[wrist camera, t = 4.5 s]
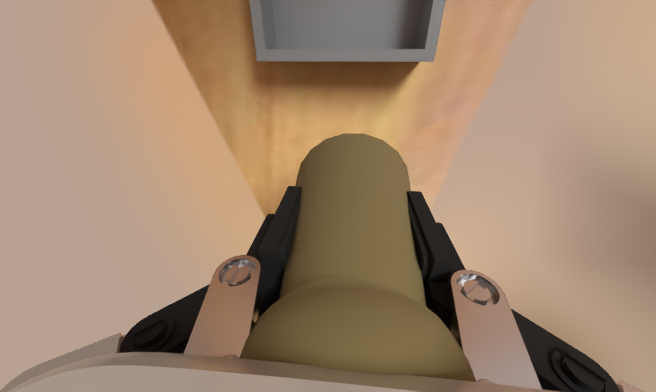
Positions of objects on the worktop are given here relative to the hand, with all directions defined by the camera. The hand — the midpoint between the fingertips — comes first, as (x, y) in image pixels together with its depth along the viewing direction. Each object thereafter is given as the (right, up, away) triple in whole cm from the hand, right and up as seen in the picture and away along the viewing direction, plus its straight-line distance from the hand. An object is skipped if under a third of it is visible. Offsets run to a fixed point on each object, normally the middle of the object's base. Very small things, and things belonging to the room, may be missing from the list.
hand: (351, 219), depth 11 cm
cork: (0, +2, +3) cm, 3 cm away
